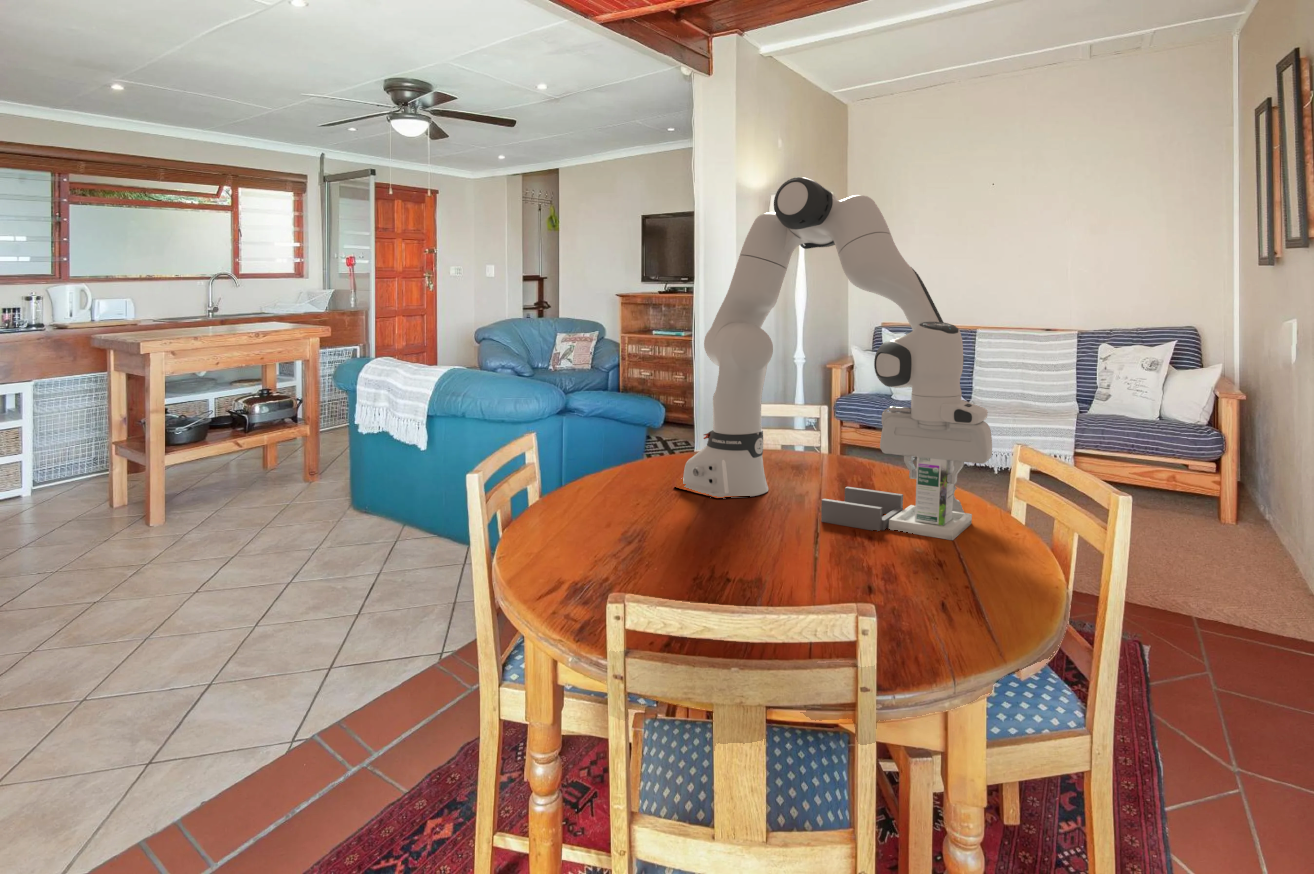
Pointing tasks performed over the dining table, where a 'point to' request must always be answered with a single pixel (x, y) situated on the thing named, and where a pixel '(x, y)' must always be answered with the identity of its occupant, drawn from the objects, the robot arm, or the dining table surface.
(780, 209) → the robot arm
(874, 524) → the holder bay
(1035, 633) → the dining table surface
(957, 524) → the tray
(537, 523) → the dining table surface
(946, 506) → the syrup box
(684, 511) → the dining table surface
